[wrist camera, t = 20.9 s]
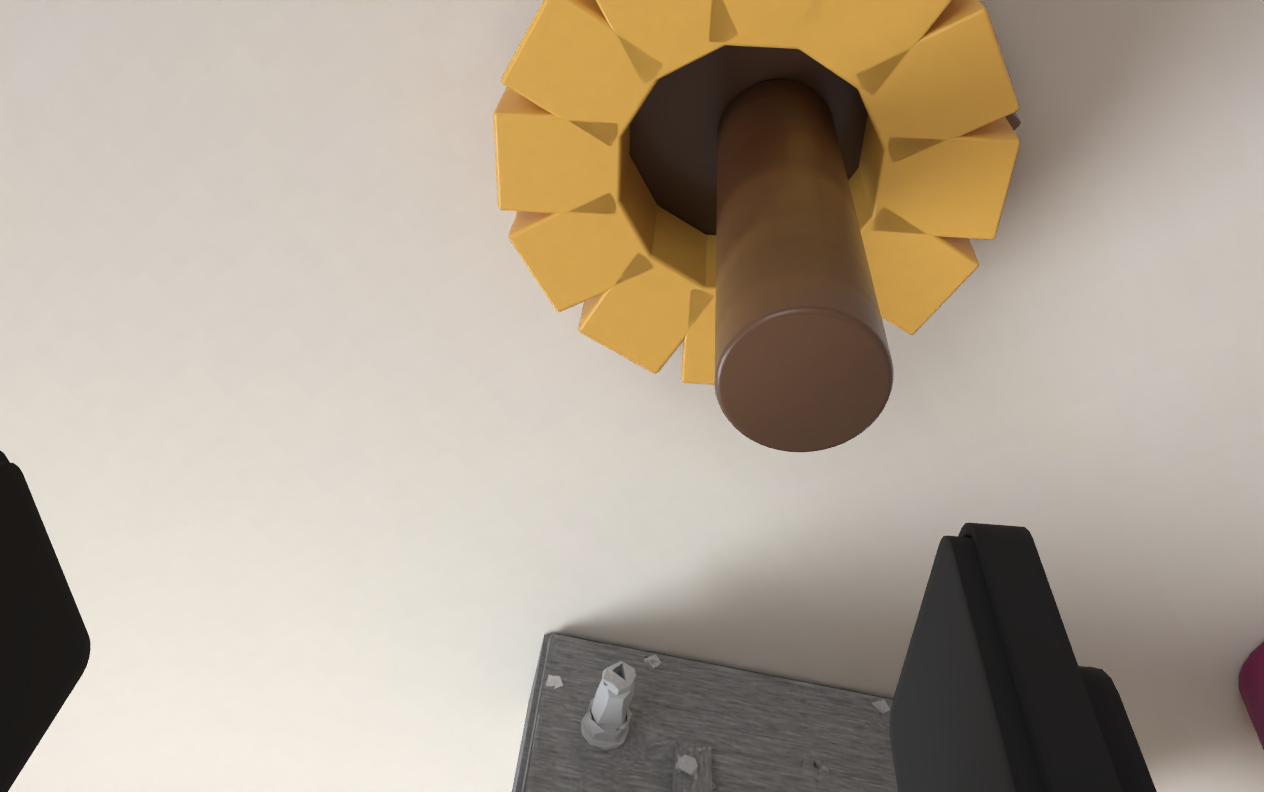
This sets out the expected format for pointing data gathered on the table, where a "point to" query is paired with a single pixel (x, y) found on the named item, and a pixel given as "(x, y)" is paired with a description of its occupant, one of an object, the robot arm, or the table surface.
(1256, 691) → the cup
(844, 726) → the electronic device
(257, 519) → the table surface
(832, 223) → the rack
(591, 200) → the yellow segmented ring
